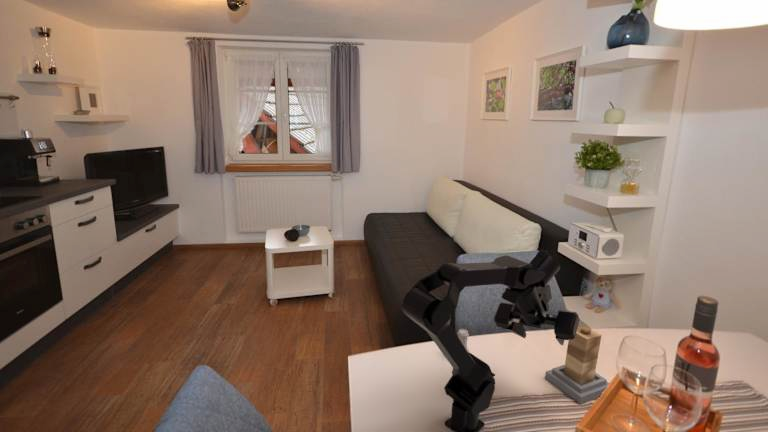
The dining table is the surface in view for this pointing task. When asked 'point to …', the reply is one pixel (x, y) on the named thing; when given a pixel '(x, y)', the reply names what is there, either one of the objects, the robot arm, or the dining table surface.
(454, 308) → the robot arm
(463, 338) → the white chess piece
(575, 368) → the oak brick column
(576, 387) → the base plate
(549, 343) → the dining table surface
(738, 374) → the dining table surface
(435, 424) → the dining table surface
